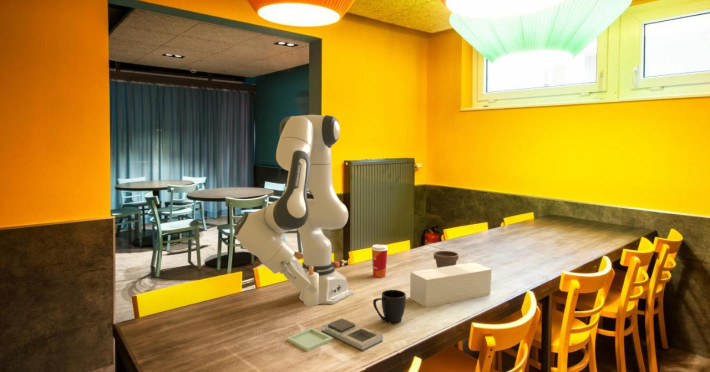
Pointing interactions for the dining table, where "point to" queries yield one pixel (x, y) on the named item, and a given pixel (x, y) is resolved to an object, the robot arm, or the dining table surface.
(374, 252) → the paper cup
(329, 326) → the grey rectangular piece
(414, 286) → the stack of papers
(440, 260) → the flower pot
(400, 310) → the mug
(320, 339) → the tray
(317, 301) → the white candle
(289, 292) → the dining table surface
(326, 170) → the robot arm
